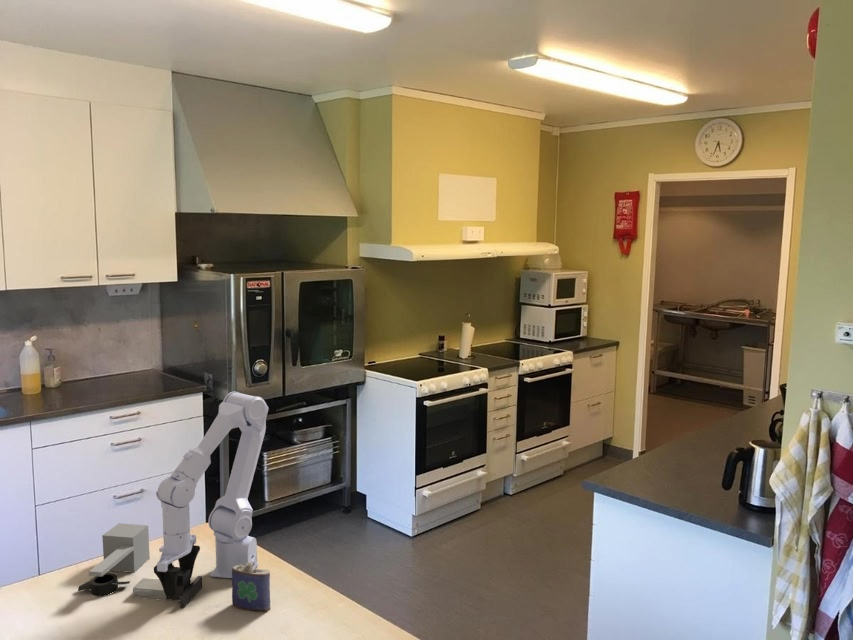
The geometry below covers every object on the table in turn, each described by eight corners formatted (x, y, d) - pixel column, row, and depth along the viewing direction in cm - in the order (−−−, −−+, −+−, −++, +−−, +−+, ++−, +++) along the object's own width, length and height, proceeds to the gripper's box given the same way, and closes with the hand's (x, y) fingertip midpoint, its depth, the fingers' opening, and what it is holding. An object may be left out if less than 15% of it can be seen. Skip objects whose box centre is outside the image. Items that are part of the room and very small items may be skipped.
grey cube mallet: (149, 559, 175) (148, 525, 174) (102, 600, 156) (100, 563, 154) (120, 556, 176) (118, 523, 175) (70, 597, 157) (68, 560, 155)
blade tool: (202, 587, 162) (201, 563, 161) (184, 608, 153) (183, 582, 152) (148, 582, 164) (147, 559, 163) (127, 603, 155) (126, 577, 154)
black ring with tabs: (109, 603, 155) (108, 591, 155) (74, 595, 158) (73, 583, 158) (133, 586, 162) (133, 575, 162) (100, 579, 166) (99, 567, 165)
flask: (272, 607, 154) (271, 562, 152) (266, 614, 151) (264, 568, 149) (236, 601, 156) (234, 556, 155) (228, 607, 153) (227, 562, 152)
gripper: (175, 515, 163) (177, 569, 165) (142, 542, 149) (145, 601, 151) (203, 517, 163) (205, 572, 164) (173, 545, 148) (175, 604, 150)
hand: (178, 586), depth 158 cm, fingers open, 7 cm apart
